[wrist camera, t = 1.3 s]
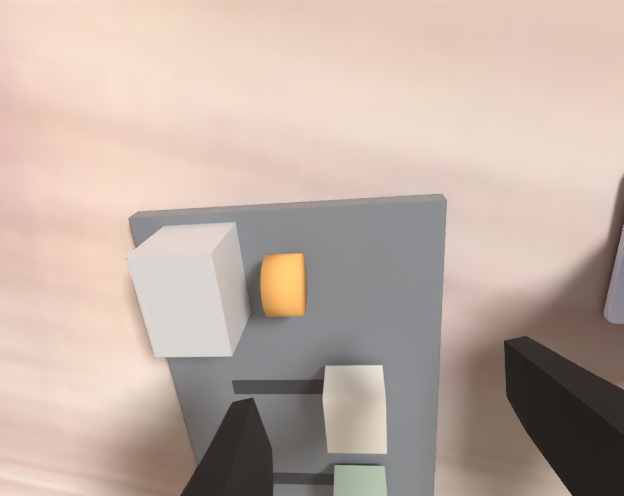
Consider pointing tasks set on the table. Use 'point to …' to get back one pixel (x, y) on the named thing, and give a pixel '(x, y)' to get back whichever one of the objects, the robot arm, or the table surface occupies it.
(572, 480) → the robot arm
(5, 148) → the table surface
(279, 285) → the orange button
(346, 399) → the off-white slider
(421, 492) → the control panel
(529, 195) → the table surface
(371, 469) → the sage slider
